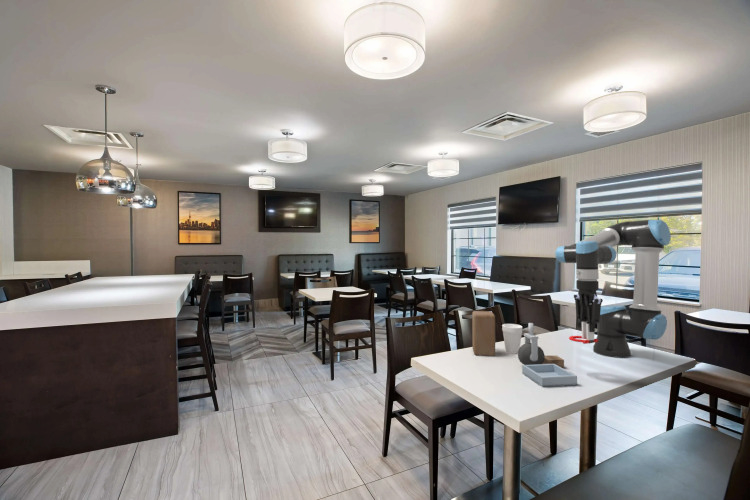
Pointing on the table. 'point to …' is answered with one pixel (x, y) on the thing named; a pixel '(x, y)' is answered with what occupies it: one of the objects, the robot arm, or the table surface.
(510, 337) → the foam cup
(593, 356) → the table surface
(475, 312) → the wooden block
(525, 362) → the trolley wheel
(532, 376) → the tray
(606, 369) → the table surface
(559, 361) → the block
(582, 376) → the table surface
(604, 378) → the table surface
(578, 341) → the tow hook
